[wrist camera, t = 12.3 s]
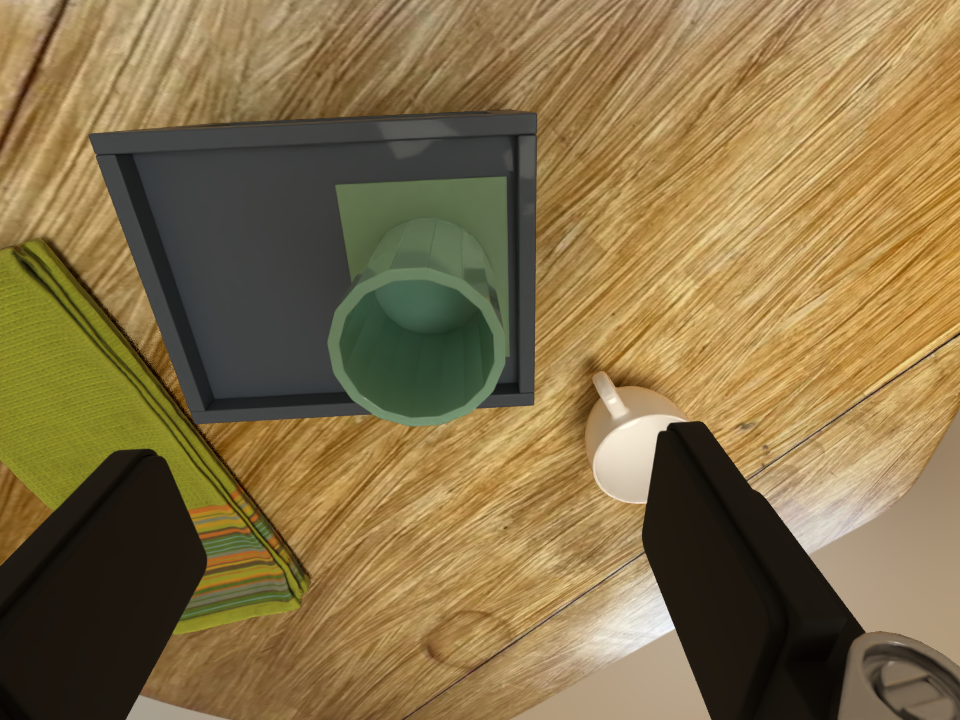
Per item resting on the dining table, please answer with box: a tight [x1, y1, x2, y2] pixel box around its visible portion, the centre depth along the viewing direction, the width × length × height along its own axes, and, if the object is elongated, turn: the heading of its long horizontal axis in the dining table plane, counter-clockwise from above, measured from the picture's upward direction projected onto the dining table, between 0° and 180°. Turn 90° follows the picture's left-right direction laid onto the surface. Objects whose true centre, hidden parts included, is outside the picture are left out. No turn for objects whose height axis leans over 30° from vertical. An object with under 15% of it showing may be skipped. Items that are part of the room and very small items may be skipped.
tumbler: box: [327, 217, 505, 426], centre depth 21 cm, size 6×6×8 cm
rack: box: [89, 109, 537, 424], centre depth 28 cm, size 14×18×11 cm
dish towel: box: [0, 238, 311, 635], centre depth 40 cm, size 15×36×3 cm, turn 20°
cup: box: [585, 371, 692, 504], centre depth 37 cm, size 8×10×7 cm
